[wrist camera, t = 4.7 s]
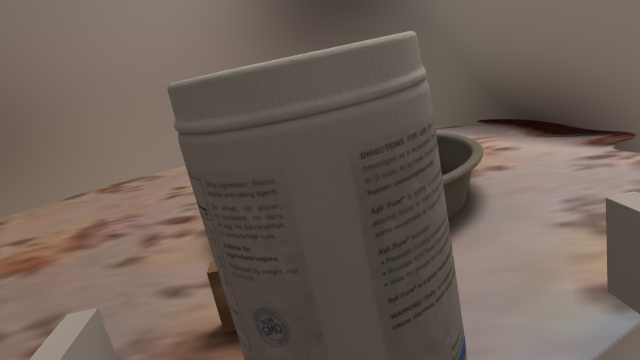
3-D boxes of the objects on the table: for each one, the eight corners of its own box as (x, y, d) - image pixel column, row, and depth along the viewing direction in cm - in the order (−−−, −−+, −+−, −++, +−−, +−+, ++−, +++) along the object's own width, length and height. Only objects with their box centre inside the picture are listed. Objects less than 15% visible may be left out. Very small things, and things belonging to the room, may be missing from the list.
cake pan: (542, 180, 41) (540, 132, 40) (337, 304, 28) (323, 237, 26) (362, 160, 60) (357, 128, 59) (192, 227, 47) (180, 187, 46)
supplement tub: (420, 301, 26) (380, 37, 22) (517, 429, 17) (480, 15, 13) (253, 347, 25) (180, 78, 21) (260, 510, 16) (132, 85, 12)
